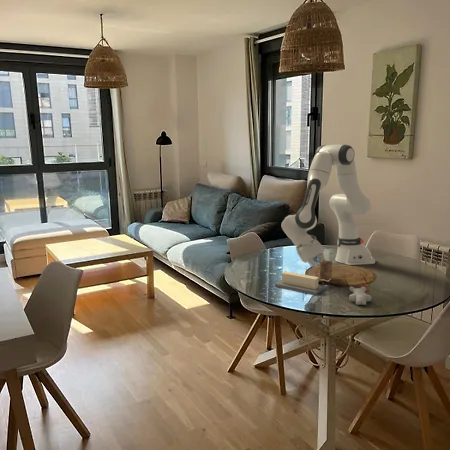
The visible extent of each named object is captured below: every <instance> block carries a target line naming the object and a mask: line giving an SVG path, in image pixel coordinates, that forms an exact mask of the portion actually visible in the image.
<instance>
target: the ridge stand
mask: <svg viewBox="0 0 450 450" xmlns="http://www.w3.org/2000/svg"><path fill="white" fill-rule="evenodd" d="M319 280H320V276H313V275H307V274H302V273H298V272H292V271H288V270H287V271H286V270H285V271H283V272H281V280H279V281H277V282H275V283H274V287H276V288H281V289H285V290H290V291H294V292H297V293H298V292H299V293H303V294H308V295H314V296H317V295H319V294H320V293H321V292H323V291H324V290H325V288H326V286H325V285H322V284H319ZM323 289H324V290H323ZM322 290H323V291H322ZM318 293H319V294H318Z"/></svg>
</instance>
